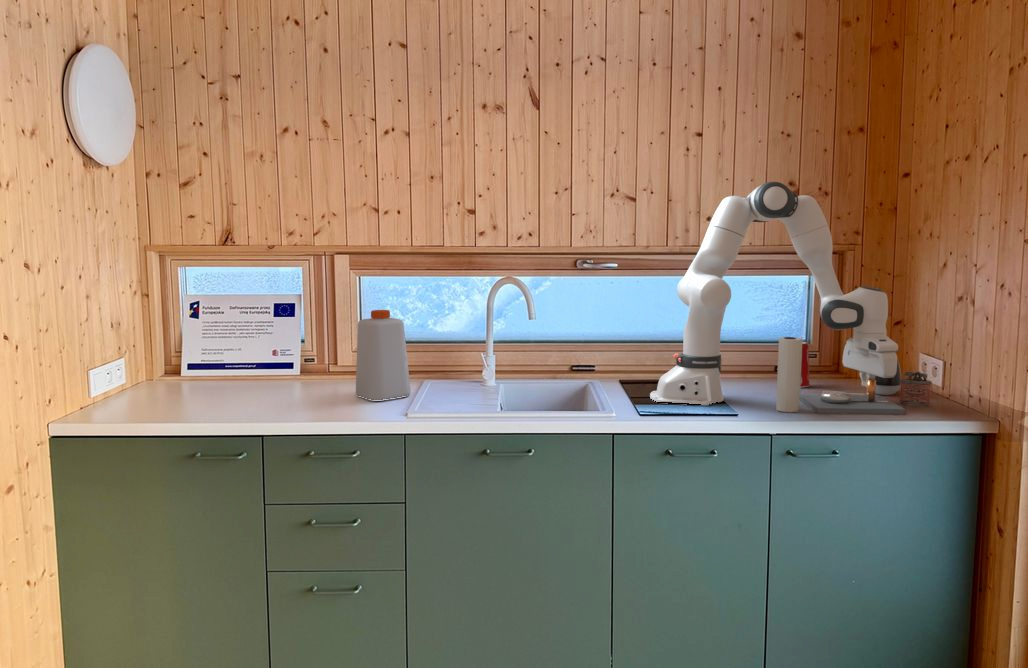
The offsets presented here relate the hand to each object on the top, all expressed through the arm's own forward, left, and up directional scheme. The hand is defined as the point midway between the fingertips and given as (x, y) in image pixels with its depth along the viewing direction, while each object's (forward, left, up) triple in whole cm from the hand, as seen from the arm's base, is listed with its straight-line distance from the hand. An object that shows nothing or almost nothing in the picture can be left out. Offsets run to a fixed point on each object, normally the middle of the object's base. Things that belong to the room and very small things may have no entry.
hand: (866, 387), depth 215 cm
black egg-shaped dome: (+11, +15, -5) cm, 19 cm away
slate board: (-6, -3, -5) cm, 8 cm away
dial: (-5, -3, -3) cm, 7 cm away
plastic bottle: (-149, +5, -5) cm, 149 cm away
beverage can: (-12, +25, -5) cm, 28 cm away
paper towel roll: (-25, -9, -5) cm, 27 cm away
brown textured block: (+14, 0, -6) cm, 15 cm away
